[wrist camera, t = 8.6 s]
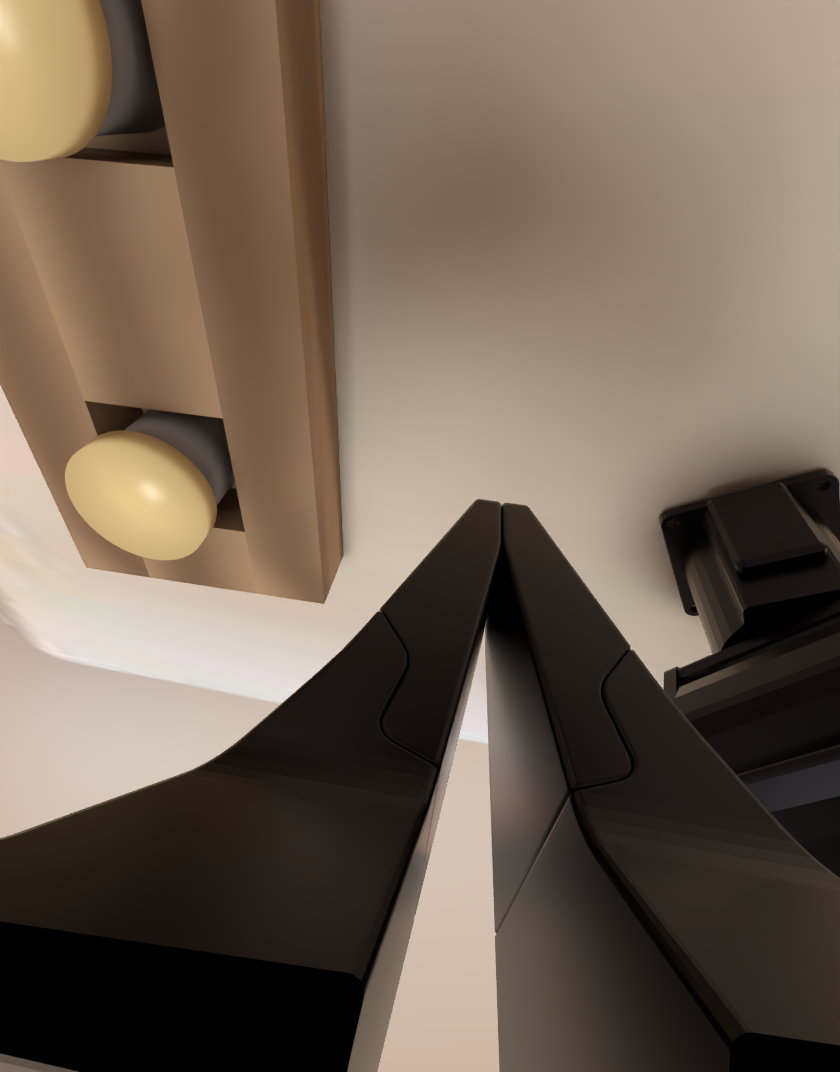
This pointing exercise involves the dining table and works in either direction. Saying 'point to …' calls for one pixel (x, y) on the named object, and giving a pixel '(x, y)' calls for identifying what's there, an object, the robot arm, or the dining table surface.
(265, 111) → the socket block
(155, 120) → the outer button
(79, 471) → the inner button
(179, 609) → the dining table surface
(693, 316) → the dining table surface
